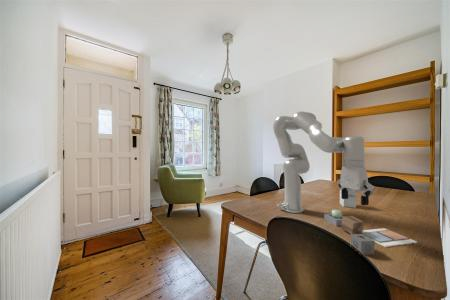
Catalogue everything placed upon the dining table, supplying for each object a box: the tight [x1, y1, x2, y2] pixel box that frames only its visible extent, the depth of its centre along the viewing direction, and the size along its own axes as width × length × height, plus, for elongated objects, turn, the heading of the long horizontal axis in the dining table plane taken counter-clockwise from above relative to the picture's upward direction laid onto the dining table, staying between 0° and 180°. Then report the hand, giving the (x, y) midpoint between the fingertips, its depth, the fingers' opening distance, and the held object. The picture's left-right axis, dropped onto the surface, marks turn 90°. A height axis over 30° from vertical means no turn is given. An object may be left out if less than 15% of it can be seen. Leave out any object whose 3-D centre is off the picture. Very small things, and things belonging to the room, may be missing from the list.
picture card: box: [362, 227, 418, 248], centre depth 74 cm, size 16×12×1 cm
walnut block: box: [340, 215, 365, 235], centre depth 78 cm, size 6×6×6 cm
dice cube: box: [350, 234, 376, 255], centre depth 65 cm, size 5×5×5 cm
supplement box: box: [339, 189, 357, 209], centre depth 115 cm, size 7×7×13 cm
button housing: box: [323, 213, 345, 227], centre depth 89 cm, size 8×8×3 cm
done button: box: [331, 208, 343, 219], centre depth 89 cm, size 4×4×4 cm
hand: (354, 201), depth 78 cm, fingers open, 9 cm apart
